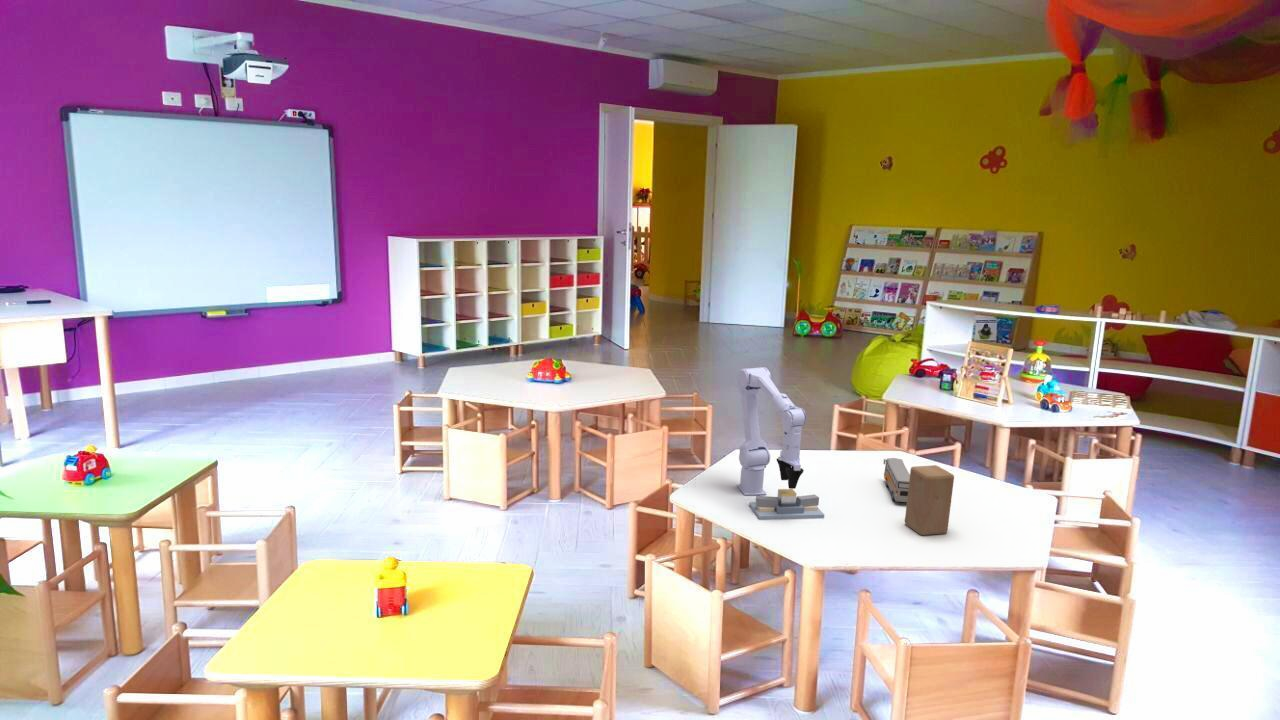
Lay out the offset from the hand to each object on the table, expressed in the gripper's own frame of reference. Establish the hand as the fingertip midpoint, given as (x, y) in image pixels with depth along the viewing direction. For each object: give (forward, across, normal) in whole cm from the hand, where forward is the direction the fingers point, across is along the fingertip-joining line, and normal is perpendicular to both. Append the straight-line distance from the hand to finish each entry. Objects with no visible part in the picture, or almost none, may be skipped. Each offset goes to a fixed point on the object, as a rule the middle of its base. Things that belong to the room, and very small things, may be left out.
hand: (788, 484), depth 279 cm
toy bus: (+10, -14, +46) cm, 49 cm away
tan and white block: (+8, 0, 0) cm, 9 cm away
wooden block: (+10, +17, +41) cm, 46 cm away
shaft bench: (+10, 0, 0) cm, 10 cm away
